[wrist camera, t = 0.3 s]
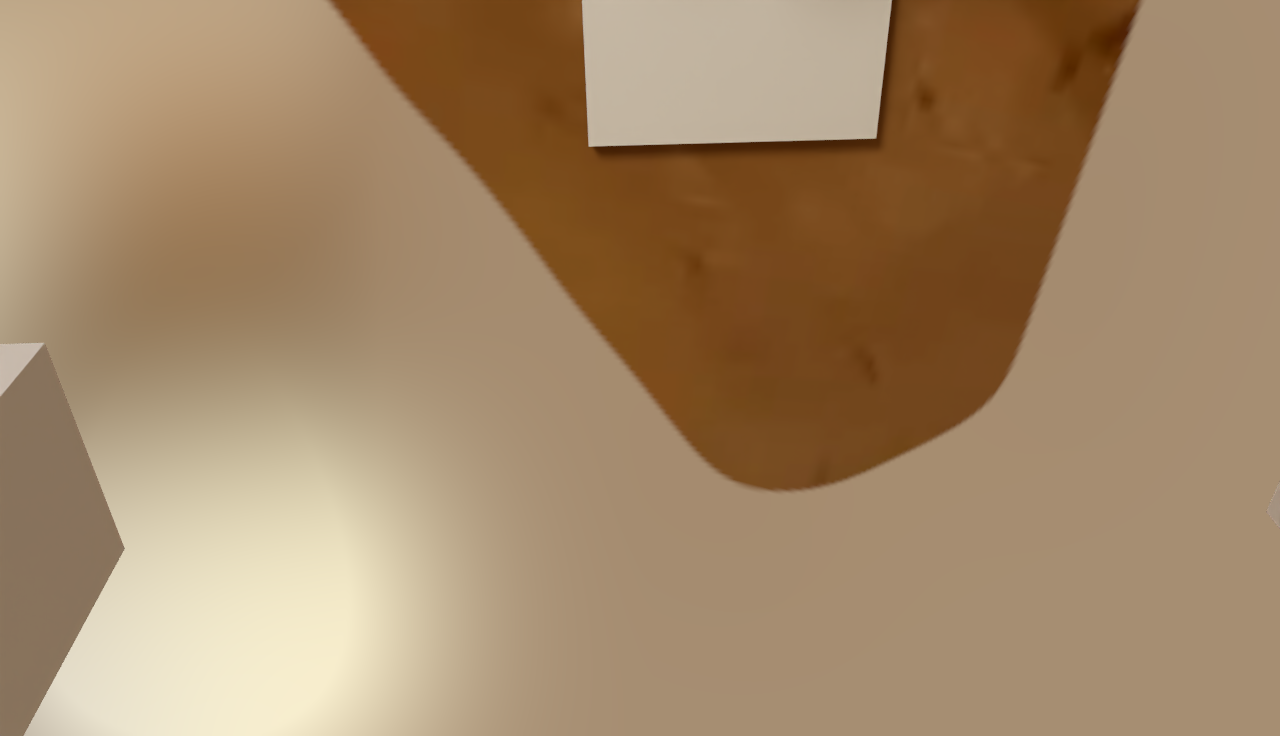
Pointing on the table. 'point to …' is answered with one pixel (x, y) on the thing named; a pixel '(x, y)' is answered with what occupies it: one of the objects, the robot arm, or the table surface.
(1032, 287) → the table surface
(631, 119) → the felt pad
